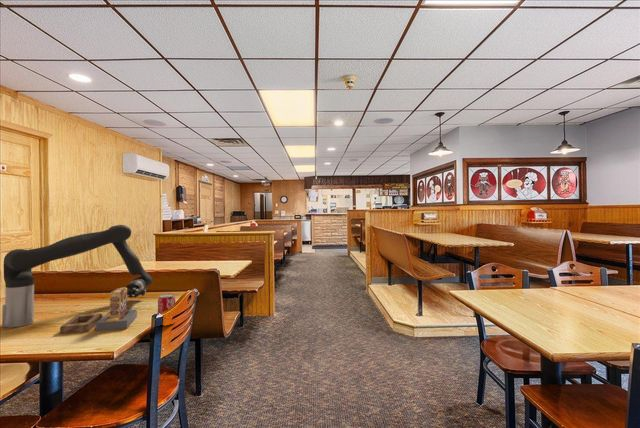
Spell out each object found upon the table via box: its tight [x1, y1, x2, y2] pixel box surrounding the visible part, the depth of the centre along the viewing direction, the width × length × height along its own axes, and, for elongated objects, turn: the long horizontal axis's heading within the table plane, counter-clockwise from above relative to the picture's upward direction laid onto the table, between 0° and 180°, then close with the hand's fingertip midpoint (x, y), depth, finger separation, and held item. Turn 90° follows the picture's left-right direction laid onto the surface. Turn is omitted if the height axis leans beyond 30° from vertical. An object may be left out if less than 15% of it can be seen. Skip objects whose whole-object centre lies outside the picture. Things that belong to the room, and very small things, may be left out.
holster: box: [59, 313, 103, 335], centre depth 135 cm, size 10×15×3 cm, turn 18°
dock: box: [95, 308, 138, 332], centre depth 139 cm, size 12×16×4 cm
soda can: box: [157, 293, 176, 314], centre depth 139 cm, size 7×7×13 cm
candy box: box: [109, 287, 128, 319], centre depth 140 cm, size 9×4×15 cm, turn 15°
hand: (125, 296), depth 150 cm, fingers open, 8 cm apart
